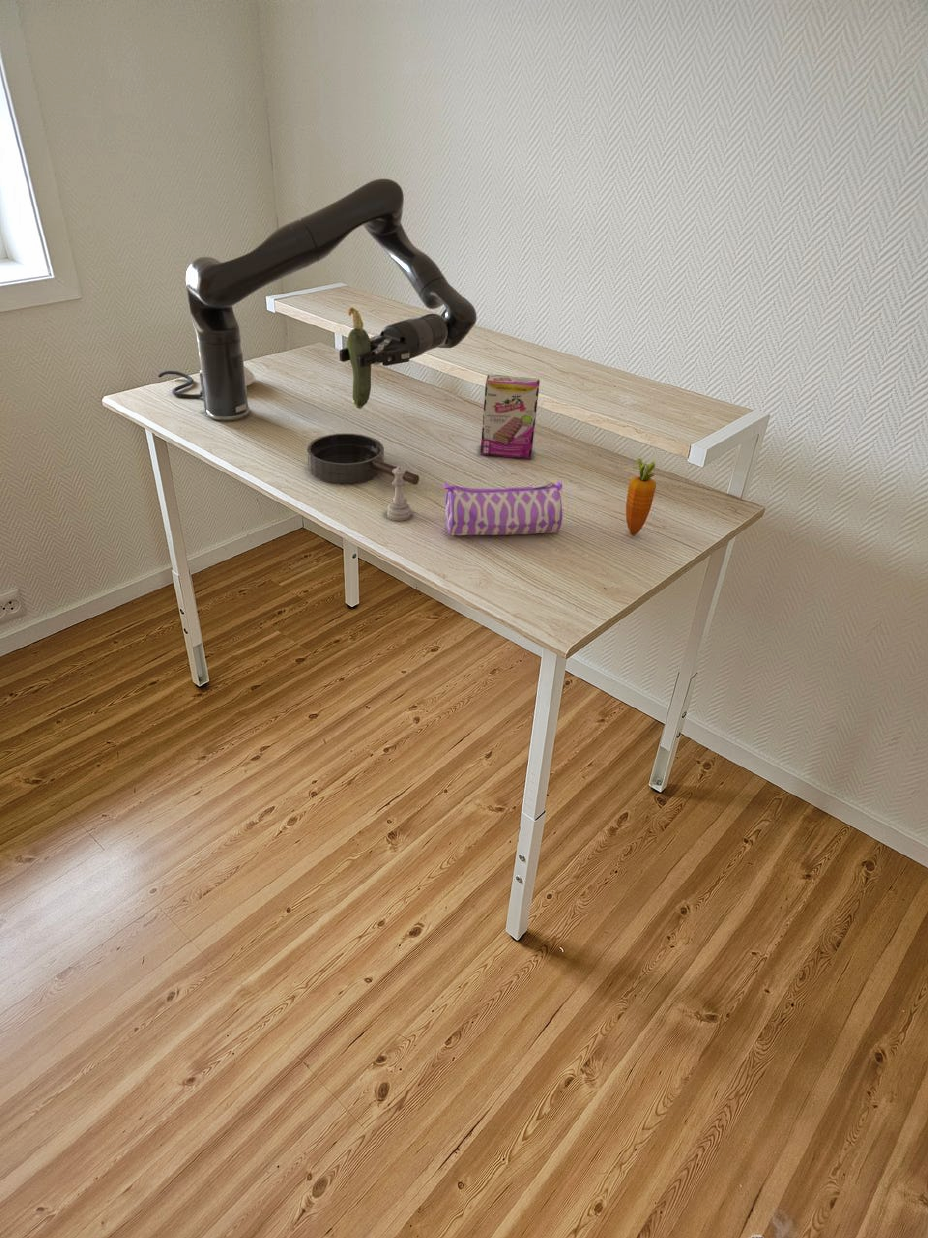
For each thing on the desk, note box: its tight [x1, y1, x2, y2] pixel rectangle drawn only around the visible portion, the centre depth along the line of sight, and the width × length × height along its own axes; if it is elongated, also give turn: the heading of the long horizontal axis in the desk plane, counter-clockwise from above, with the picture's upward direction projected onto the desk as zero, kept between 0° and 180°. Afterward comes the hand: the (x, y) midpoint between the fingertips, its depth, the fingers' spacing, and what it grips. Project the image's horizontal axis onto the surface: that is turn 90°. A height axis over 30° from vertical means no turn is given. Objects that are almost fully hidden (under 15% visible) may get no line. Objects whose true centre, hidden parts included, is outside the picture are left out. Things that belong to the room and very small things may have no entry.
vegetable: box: [347, 307, 372, 410], centre depth 162 cm, size 4×4×20 cm
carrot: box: [625, 457, 657, 536], centre depth 148 cm, size 5×5×15 cm
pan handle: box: [371, 459, 420, 486], centre depth 162 cm, size 11×2×2 cm, turn 53°
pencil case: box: [442, 480, 563, 536], centre depth 149 cm, size 22×9×10 cm, turn 102°
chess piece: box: [386, 465, 412, 522], centre depth 152 cm, size 4×4×10 cm
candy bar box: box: [480, 373, 541, 460], centre depth 175 cm, size 11×5×16 cm, turn 84°
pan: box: [306, 432, 385, 485], centre depth 169 cm, size 15×15×4 cm
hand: (350, 358), depth 160 cm, fingers closed on vegetable, 4 cm apart
